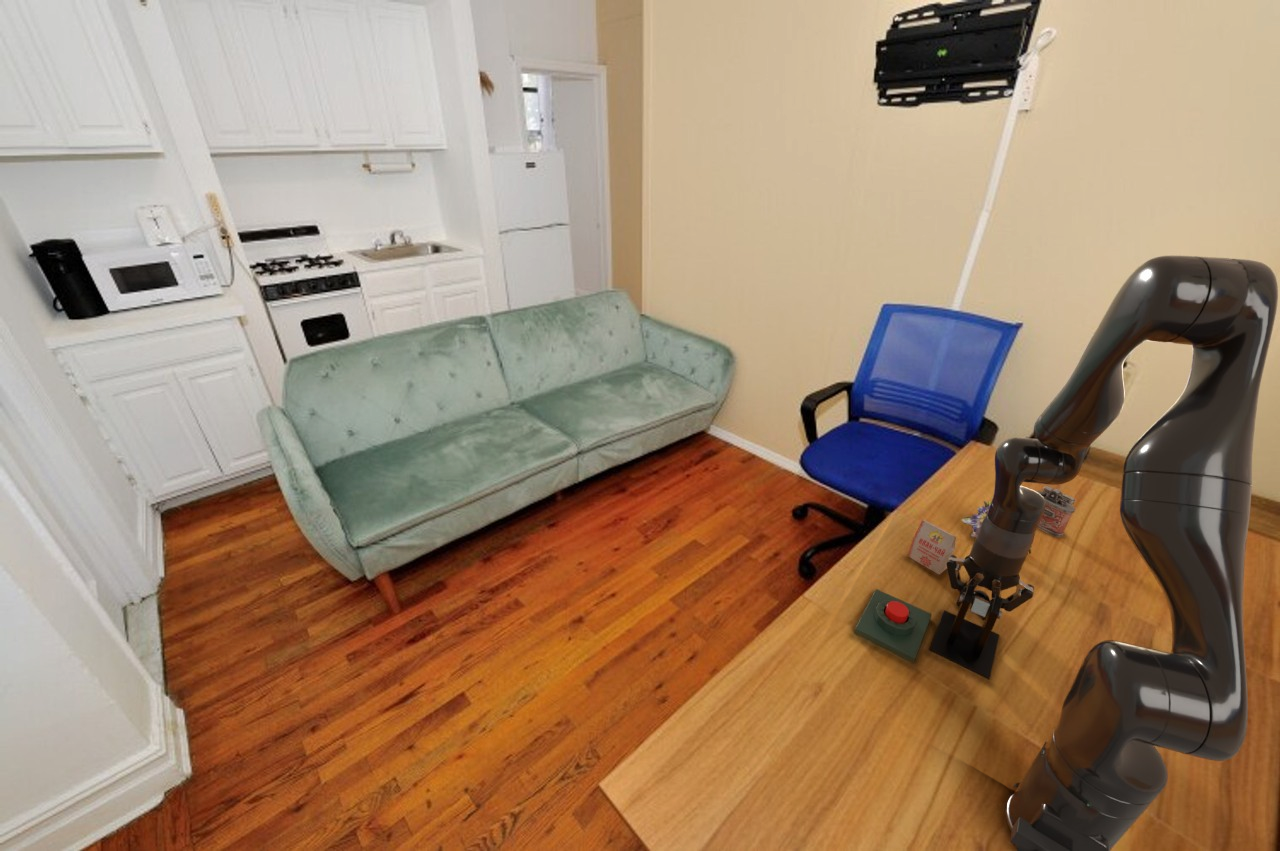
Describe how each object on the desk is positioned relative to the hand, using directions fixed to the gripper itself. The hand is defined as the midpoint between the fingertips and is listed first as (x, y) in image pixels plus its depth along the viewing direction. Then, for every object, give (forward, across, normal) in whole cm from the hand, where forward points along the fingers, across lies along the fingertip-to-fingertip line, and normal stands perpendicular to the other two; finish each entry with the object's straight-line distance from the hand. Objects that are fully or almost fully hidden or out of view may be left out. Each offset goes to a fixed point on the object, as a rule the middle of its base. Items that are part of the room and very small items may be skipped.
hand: (973, 612), depth 95 cm
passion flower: (+1, 0, +26) cm, 26 cm away
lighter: (+1, +8, +39) cm, 40 cm away
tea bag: (+1, -10, +9) cm, 14 cm away
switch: (-5, 0, -5) cm, 7 cm away
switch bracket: (+1, 0, -9) cm, 9 cm away
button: (-3, -11, -13) cm, 17 cm away
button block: (+1, -11, -13) cm, 17 cm away
